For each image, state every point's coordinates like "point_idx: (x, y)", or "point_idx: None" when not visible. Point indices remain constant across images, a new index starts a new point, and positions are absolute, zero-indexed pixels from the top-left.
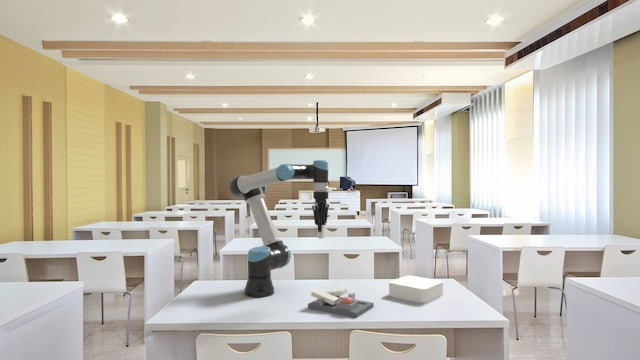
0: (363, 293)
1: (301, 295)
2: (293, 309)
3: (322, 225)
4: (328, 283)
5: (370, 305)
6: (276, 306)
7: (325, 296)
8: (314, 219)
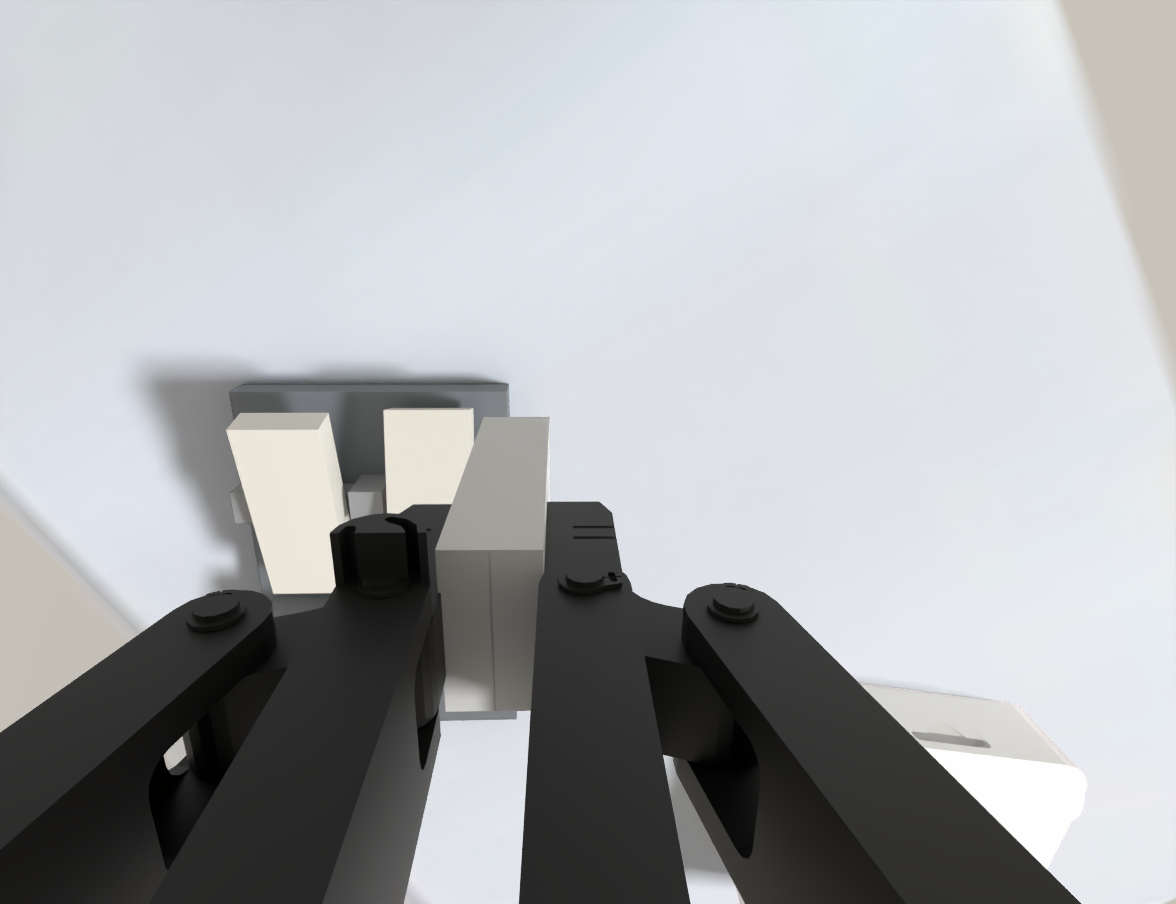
0: (765, 535)
1: (476, 146)
2: (151, 310)
3: (456, 710)
4: (937, 144)
5: (472, 716)
6: (110, 146)
7: (271, 530)
8: (6, 735)
